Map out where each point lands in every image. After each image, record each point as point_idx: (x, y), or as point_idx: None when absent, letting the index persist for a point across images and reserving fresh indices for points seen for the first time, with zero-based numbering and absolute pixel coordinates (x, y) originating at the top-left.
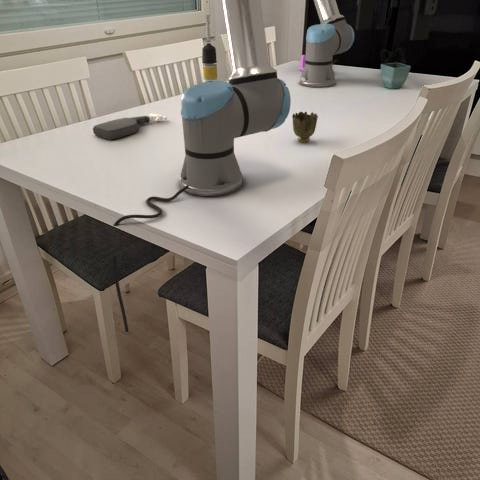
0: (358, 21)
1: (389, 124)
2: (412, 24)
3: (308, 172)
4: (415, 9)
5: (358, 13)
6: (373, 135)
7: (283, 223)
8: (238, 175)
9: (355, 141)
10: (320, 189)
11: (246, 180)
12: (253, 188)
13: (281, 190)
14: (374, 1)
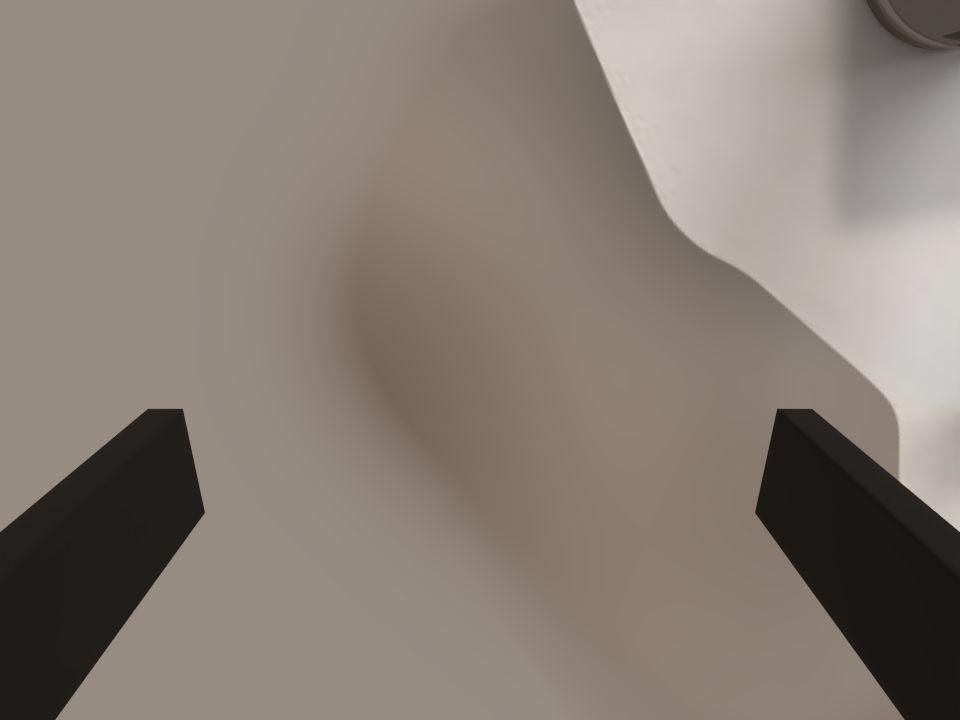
0: (815, 438)
1: None
2: (124, 458)
3: (829, 284)
4: (44, 525)
5: (868, 473)
6: None
7: (599, 43)
8: (909, 4)
9: None
10: (715, 255)
11: (908, 65)
12: (842, 61)
13: (776, 143)
14: (867, 665)
